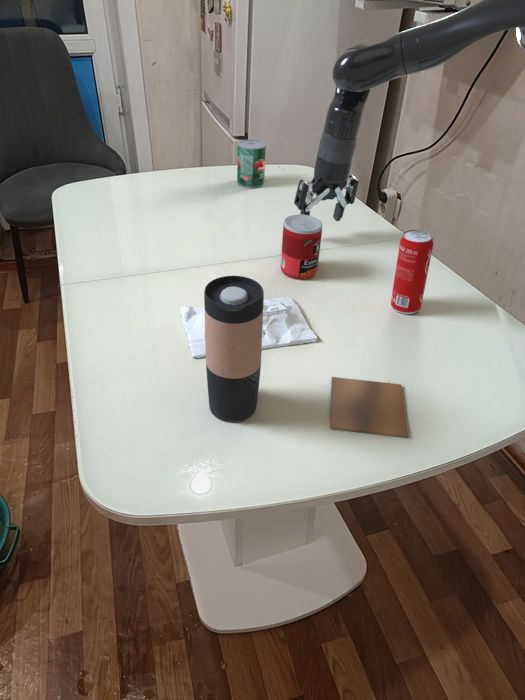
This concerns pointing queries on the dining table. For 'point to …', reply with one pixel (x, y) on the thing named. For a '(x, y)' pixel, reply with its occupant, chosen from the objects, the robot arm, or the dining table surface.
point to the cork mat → (368, 407)
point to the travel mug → (233, 346)
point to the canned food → (300, 246)
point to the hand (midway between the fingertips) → (320, 221)
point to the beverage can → (411, 271)
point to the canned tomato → (251, 163)
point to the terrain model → (278, 328)
